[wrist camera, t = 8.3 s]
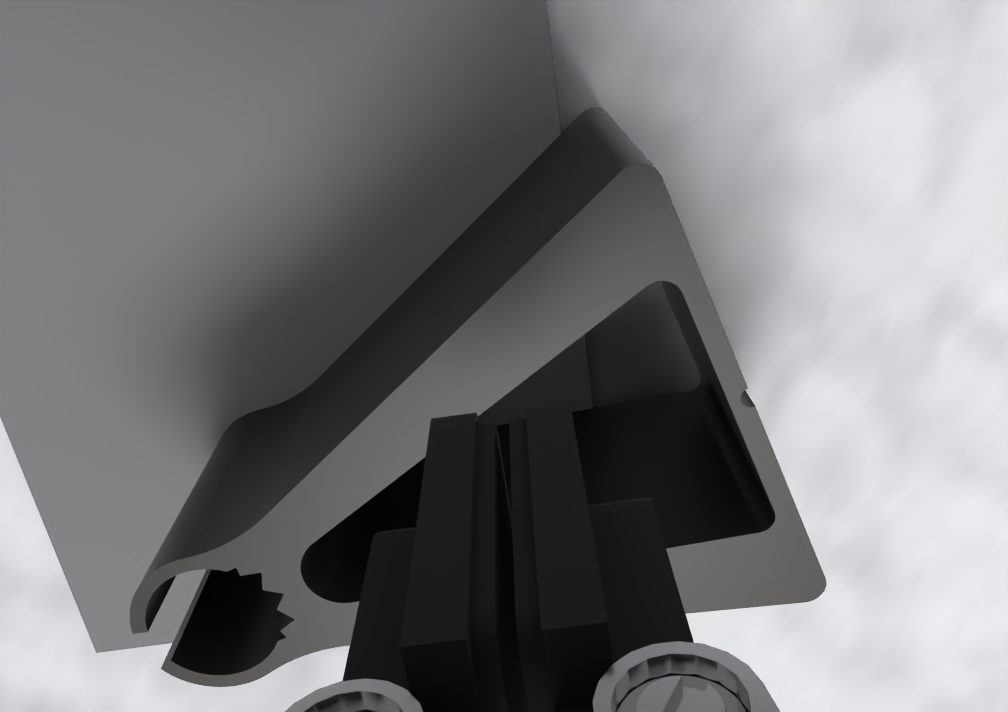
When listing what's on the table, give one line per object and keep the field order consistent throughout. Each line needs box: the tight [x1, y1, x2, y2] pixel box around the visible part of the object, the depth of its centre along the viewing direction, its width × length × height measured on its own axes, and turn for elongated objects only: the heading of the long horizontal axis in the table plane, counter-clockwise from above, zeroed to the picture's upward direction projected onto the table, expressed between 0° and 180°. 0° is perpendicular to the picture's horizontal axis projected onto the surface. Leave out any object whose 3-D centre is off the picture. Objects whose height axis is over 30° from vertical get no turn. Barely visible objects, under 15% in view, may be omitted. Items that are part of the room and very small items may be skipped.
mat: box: [0, 0, 593, 653], centre depth 21 cm, size 14×18×1 cm
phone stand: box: [130, 108, 826, 687], centre depth 19 cm, size 9×6×12 cm
